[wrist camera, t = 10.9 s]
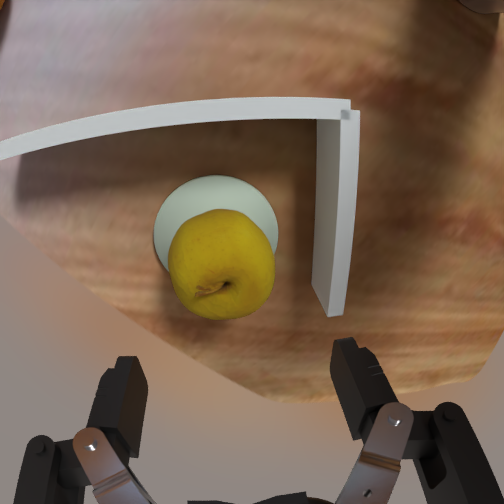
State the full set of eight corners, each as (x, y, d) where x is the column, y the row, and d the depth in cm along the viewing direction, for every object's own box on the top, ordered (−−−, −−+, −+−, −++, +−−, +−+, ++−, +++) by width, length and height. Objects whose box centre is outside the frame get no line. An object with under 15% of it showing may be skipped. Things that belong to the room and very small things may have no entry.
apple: (159, 216, 22) (134, 273, 15) (243, 178, 21) (260, 220, 14) (198, 287, 25) (195, 361, 17) (276, 256, 24) (301, 323, 17)
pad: (276, 170, 22) (278, 172, 21) (276, 282, 26) (278, 286, 25) (147, 181, 21) (145, 183, 21) (165, 291, 25) (164, 295, 25)
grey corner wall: (332, 99, 20) (360, 100, 16) (324, 282, 26) (342, 314, 22) (25, 134, 18) (-9, 144, 14) (65, 301, 24) (47, 333, 20)
